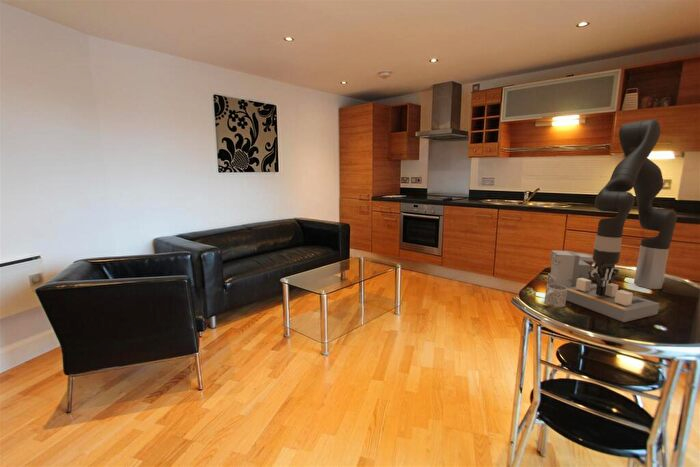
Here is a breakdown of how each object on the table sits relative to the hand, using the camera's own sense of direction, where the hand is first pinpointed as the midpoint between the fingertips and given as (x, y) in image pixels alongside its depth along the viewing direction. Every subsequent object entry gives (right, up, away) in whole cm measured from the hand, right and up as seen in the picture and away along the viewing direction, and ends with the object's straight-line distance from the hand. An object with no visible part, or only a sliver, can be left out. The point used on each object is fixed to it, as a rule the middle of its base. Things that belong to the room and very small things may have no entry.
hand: (600, 295), depth 125 cm
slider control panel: (+5, -4, +3) cm, 7 cm away
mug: (-15, -4, +4) cm, 16 cm away
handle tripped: (+5, 0, +2) cm, 5 cm away
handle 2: (+3, -2, -6) cm, 7 cm away
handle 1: (-2, +1, +7) cm, 7 cm away
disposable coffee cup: (+13, +1, +31) cm, 34 cm away
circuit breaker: (+2, -1, +22) cm, 22 cm away
